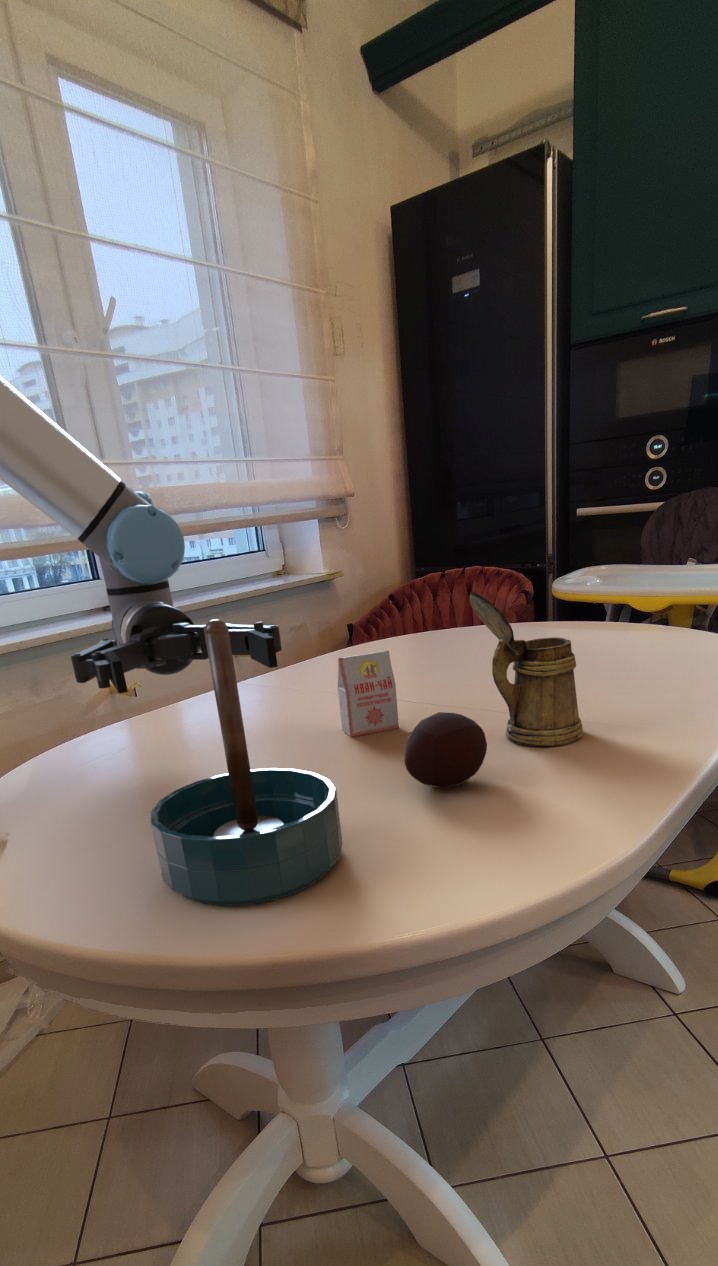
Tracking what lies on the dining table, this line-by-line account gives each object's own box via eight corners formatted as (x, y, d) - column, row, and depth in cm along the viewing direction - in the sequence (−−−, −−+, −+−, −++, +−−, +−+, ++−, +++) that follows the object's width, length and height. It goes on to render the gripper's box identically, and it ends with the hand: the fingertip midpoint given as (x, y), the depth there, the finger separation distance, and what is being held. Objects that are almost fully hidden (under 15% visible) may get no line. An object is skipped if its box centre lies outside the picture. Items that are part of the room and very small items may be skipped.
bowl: (127, 900, 58) (110, 832, 56) (222, 823, 71) (212, 765, 69) (298, 920, 53) (287, 846, 51) (367, 832, 66) (361, 771, 64)
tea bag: (342, 730, 97) (334, 656, 94) (389, 721, 99) (383, 648, 95) (350, 736, 94) (342, 660, 90) (398, 728, 96) (393, 652, 92)
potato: (506, 783, 74) (505, 710, 71) (434, 808, 70) (429, 731, 67) (457, 765, 80) (454, 697, 78) (387, 786, 76) (381, 716, 73)
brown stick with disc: (204, 869, 60) (157, 627, 53) (239, 839, 65) (201, 614, 58) (268, 876, 58) (229, 624, 51) (299, 843, 63) (268, 611, 56)
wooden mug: (459, 738, 89) (453, 588, 83) (557, 720, 92) (559, 574, 86) (491, 759, 81) (487, 594, 75) (597, 738, 84) (603, 578, 78)
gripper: (268, 653, 88) (333, 682, 70) (51, 688, 79) (60, 732, 61) (259, 589, 85) (324, 602, 67) (34, 618, 77) (38, 642, 58)
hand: (198, 664), depth 64 cm, fingers open, 13 cm apart
